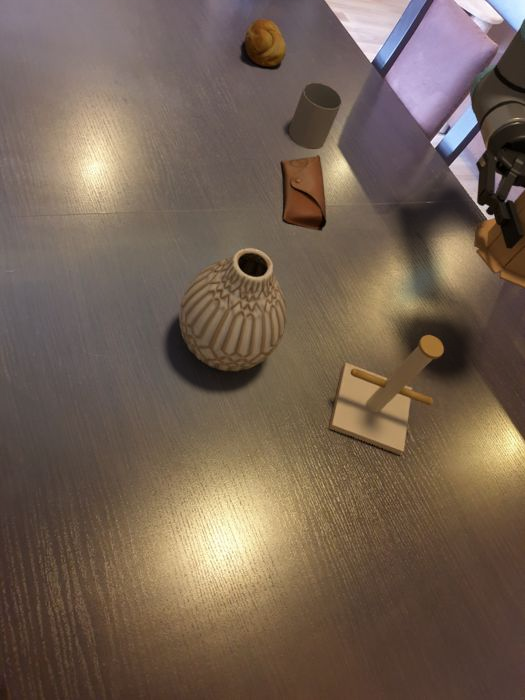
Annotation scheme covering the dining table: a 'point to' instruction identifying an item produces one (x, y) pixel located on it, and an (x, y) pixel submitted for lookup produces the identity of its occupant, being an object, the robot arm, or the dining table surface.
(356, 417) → the stand
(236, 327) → the vase
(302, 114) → the cup
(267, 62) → the bread roll
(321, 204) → the sunglasses case
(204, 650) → the dining table surface
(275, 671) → the dining table surface
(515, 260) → the hat
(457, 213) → the dining table surface
